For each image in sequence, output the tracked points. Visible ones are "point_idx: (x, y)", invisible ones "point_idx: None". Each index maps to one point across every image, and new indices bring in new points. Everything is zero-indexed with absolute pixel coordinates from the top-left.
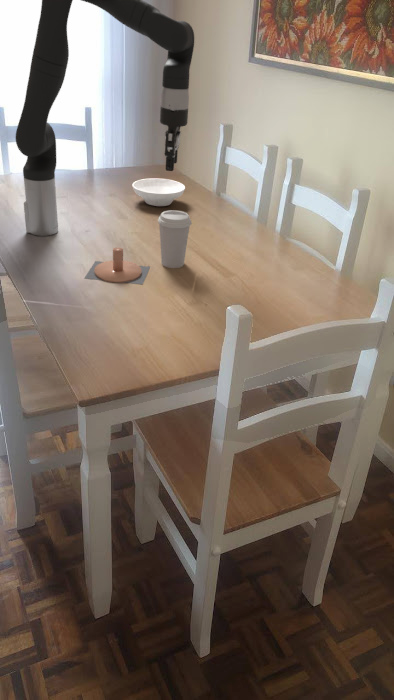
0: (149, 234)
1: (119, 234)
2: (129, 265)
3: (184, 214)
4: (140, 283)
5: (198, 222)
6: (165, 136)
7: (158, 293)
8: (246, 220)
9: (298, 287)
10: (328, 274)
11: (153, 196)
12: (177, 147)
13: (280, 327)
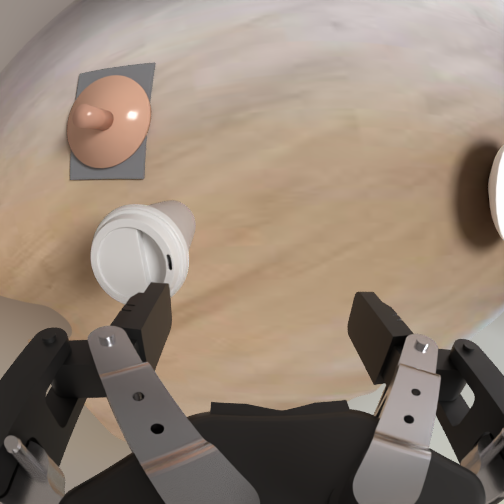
0: (349, 159)
1: (335, 88)
2: (127, 136)
3: None
4: (72, 175)
5: (423, 269)
6: (147, 474)
7: (55, 212)
8: None
9: None
10: None
11: (492, 177)
12: (380, 400)
13: None
